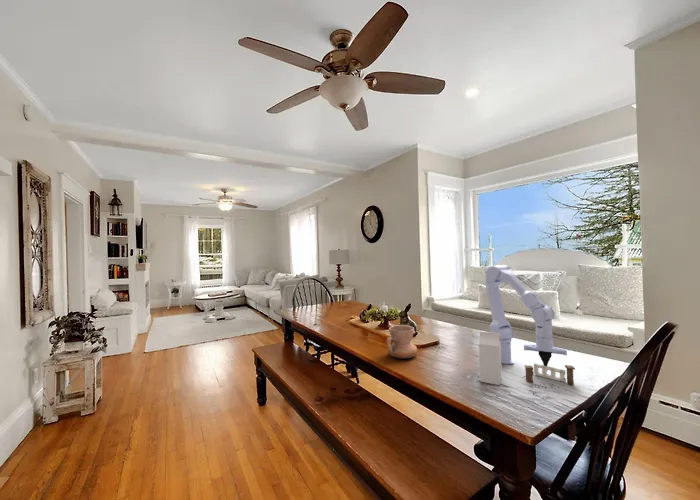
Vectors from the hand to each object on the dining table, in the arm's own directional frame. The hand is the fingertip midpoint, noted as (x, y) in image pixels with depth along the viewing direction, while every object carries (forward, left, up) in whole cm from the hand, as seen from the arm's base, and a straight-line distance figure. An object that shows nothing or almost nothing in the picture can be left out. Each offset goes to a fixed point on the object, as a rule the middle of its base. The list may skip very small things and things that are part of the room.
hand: (545, 370), depth 121 cm
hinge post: (+6, -7, -2) cm, 9 cm away
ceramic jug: (-59, +12, -2) cm, 60 cm away
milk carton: (-22, -9, -2) cm, 24 cm away
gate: (0, -3, -2) cm, 3 cm away
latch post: (-8, -7, -2) cm, 11 cm away
